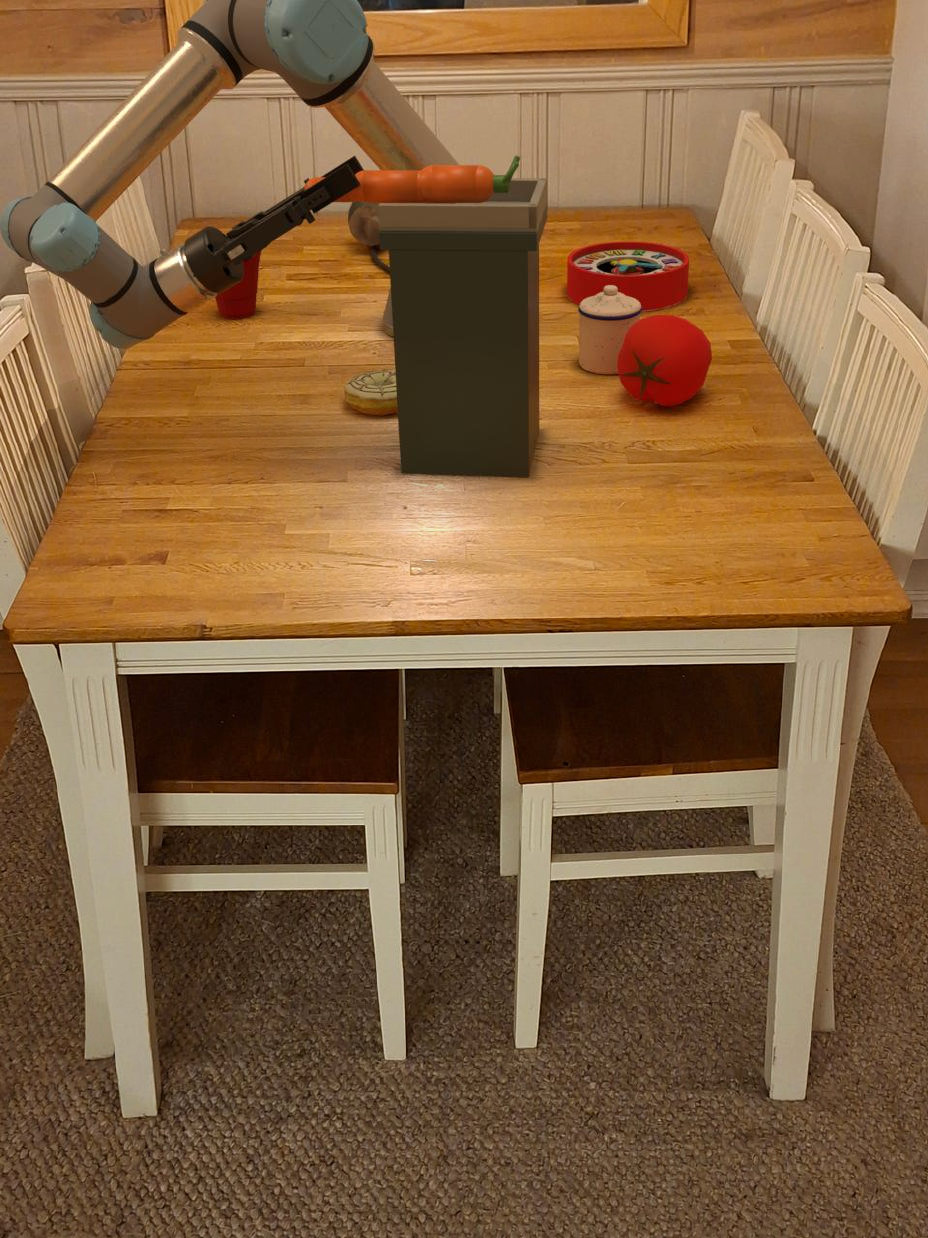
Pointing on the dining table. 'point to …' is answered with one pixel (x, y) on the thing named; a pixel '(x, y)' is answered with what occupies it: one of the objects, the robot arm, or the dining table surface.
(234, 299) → the plastic cup
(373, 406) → the decorated donut
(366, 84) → the robot arm
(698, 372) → the tomato
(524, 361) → the stand
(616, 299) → the teacup with lid
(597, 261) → the toy clock
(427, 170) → the carrot
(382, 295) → the dining table surface
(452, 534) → the dining table surface
